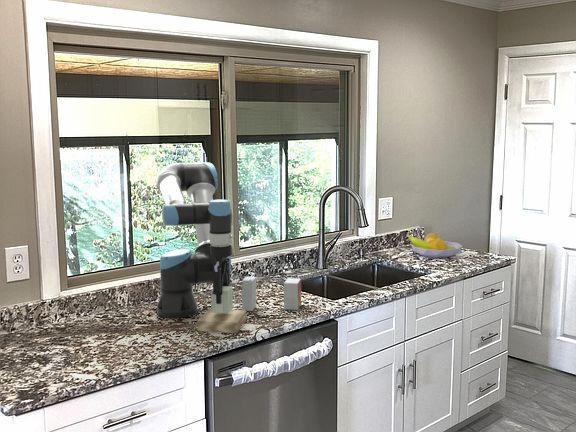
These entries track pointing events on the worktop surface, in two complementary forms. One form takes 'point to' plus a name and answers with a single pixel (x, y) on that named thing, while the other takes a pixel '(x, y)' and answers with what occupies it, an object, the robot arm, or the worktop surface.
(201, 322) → the birch block
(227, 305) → the sage block
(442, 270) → the worktop surface
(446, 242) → the fruit bowl
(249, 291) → the skincare box
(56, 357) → the worktop surface
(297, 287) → the small box
